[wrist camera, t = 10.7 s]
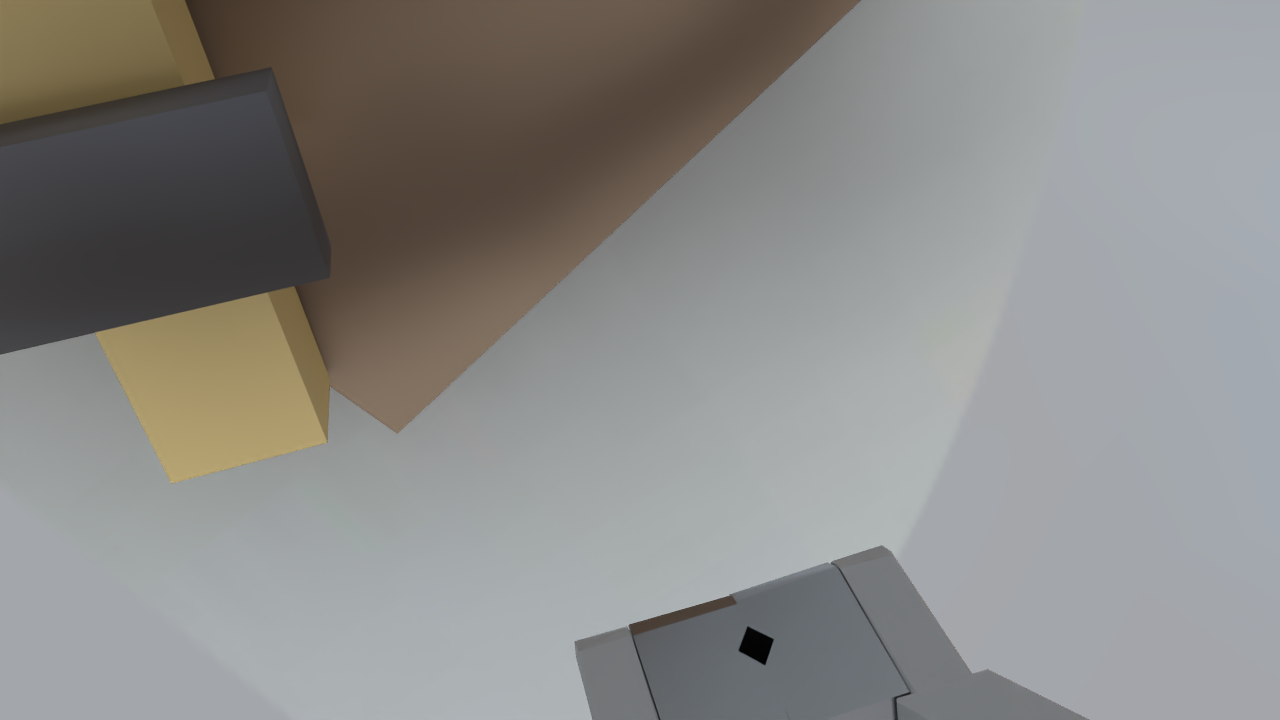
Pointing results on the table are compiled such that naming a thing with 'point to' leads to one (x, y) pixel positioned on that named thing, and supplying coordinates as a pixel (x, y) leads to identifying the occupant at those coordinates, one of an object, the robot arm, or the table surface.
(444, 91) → the board
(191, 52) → the link
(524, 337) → the table surface
